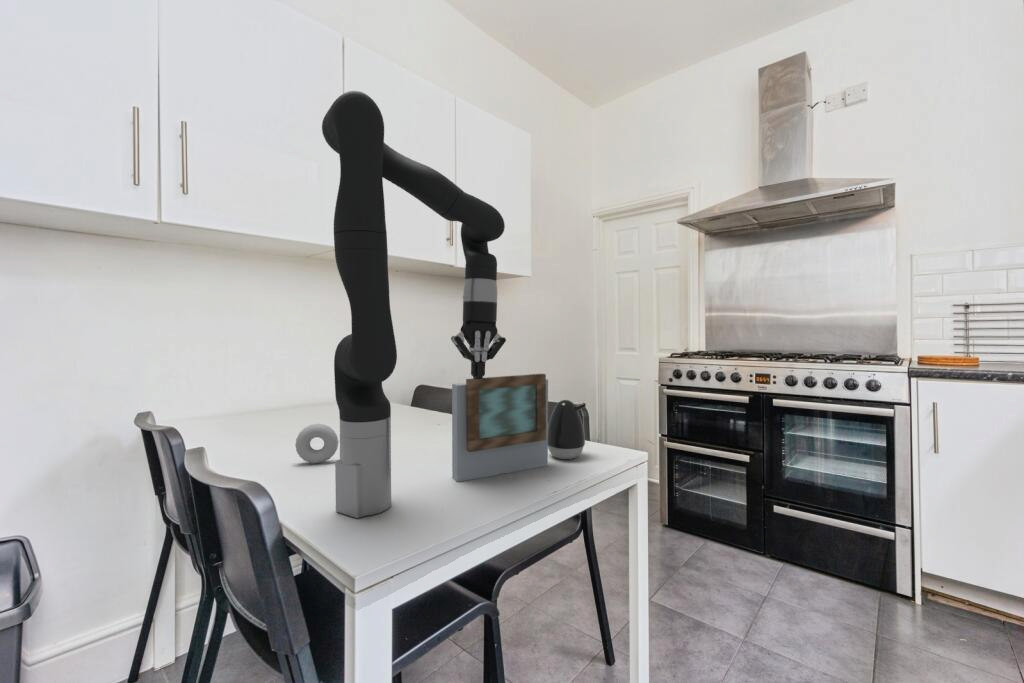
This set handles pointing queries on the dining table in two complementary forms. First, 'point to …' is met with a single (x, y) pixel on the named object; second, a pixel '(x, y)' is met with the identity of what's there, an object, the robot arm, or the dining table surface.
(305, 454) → the donut
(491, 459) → the wall board
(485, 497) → the dining table surface
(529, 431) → the picture frame
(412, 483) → the dining table surface
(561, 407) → the black electric kettle
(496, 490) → the dining table surface
